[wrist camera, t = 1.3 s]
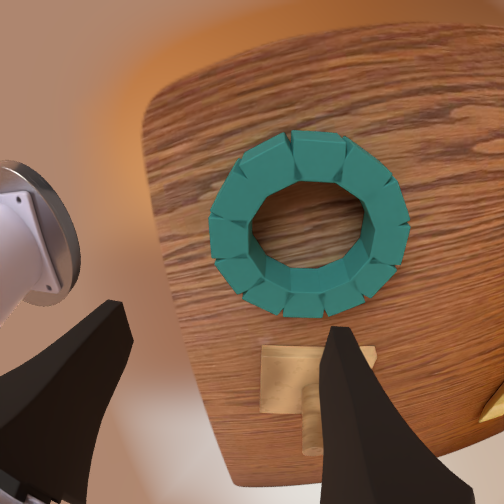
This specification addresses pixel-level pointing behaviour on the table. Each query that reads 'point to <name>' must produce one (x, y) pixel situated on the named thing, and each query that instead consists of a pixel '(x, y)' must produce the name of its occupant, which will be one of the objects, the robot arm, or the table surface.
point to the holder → (297, 387)
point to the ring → (308, 279)
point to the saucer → (494, 406)
